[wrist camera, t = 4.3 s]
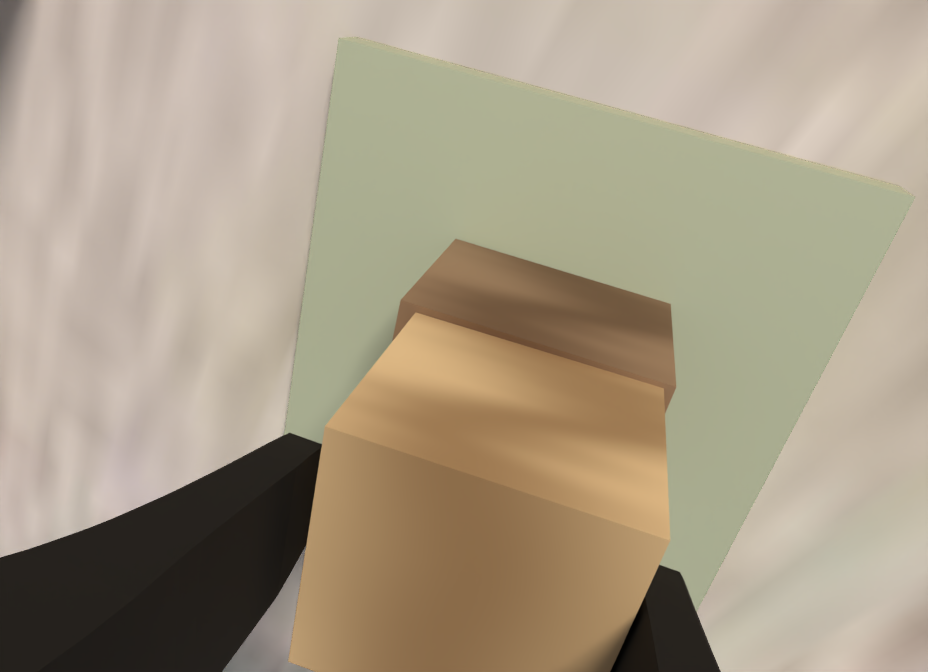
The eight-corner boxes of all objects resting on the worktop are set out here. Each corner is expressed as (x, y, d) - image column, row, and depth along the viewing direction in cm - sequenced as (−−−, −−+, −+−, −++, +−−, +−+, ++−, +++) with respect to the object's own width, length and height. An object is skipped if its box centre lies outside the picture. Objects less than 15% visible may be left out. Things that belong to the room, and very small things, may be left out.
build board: (900, 186, 14) (915, 197, 14) (687, 600, 20) (687, 627, 19) (356, 36, 16) (338, 37, 15) (294, 458, 21) (278, 477, 20)
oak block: (663, 388, 12) (670, 540, 9) (587, 578, 14) (566, 766, 11) (415, 312, 13) (325, 426, 9) (375, 505, 15) (288, 661, 11)
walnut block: (670, 303, 16) (676, 386, 12) (600, 481, 18) (587, 595, 14) (455, 238, 16) (400, 300, 13) (413, 418, 18) (356, 513, 15)
